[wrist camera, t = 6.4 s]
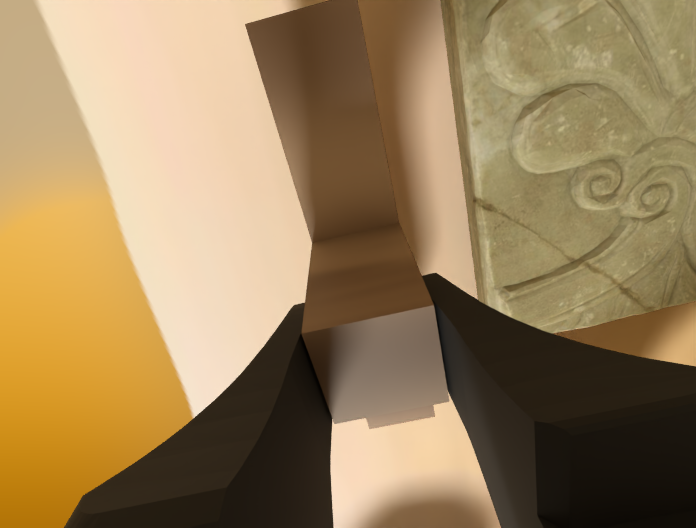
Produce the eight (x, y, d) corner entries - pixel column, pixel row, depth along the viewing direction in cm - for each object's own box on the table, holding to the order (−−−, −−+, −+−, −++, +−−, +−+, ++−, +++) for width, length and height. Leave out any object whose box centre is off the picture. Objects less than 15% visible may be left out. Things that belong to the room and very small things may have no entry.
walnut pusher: (421, 369, 20) (470, 539, 13) (364, 381, 20) (382, 554, 13) (351, 9, 12) (374, -71, 5) (263, 33, 13) (174, -12, 6)
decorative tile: (474, 321, 23) (498, 360, 20) (417, -104, 15) (441, -156, 11) (799, 245, 22) (881, 274, 18) (947, -273, 13) (1146, -388, 10)
